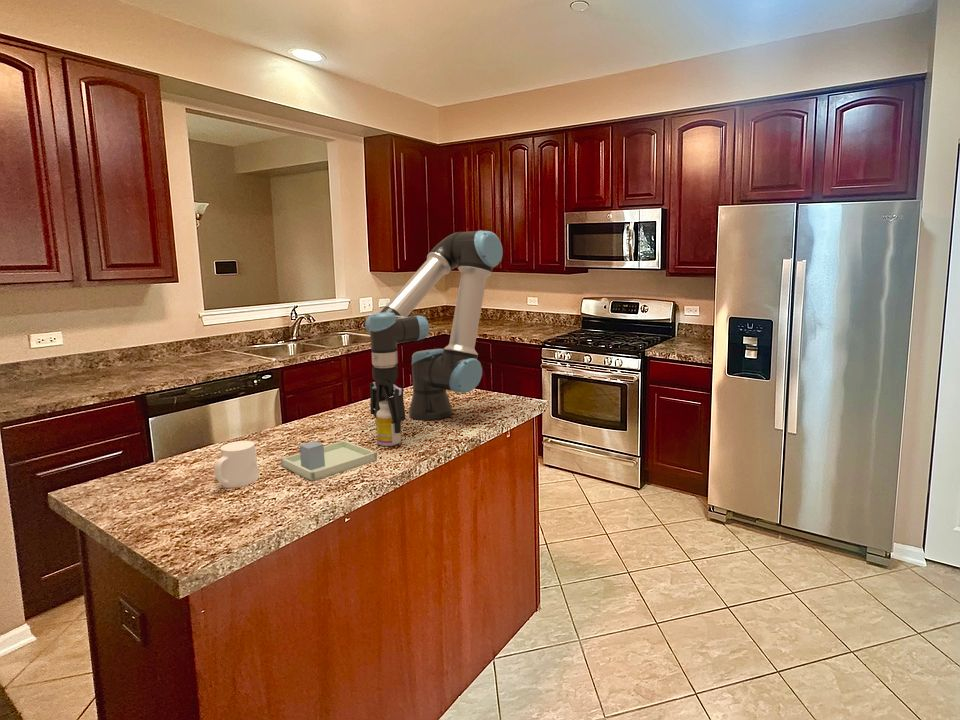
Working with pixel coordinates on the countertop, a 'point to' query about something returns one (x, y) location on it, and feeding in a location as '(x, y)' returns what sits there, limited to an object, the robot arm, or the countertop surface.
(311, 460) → the grey rectangular block
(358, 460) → the tray
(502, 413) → the countertop surface
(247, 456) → the mug
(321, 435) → the countertop surface
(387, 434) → the supplement bottle
